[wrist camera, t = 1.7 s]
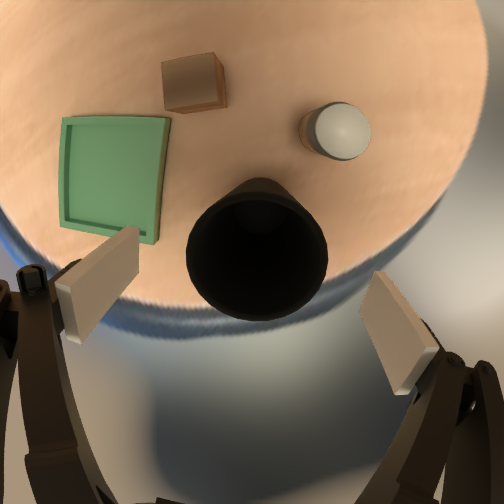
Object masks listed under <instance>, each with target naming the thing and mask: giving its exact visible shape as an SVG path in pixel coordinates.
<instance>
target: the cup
mask: <svg viewBox="0 0 504 504" xmlns="http://www.w3.org/2000/svg"><path fill="white" fill-rule="evenodd" d="M327 265H328V250H327V243H326V240H325V238H324V235H323V232H322V230H321V228H320V226H319V225H318V224H317V222H316V221H315V219H314V218H313V217H312V215H311V214H310V213H309V212H308V211H307V210H306V209H305V208H304V207H303V206H302V205H301V204H300V203H299V202H298V201H297V200H296V199H295V198H294V197H293V196H291V195H290V194H289V193H288V192H287V191H286V190H285V189H284V188H283V187H282V186H281V185H279V184H278V183H277V182H275V181H273V180H271V179H266V178H254V179H251V180H248V181H246V182H244V183H243V184H241V185H240V186H238V187H237V188H235V189H234V190H233V191H231V192H230V193H228V194H227V195H226V196H224V197H223V198H222V199H220V200H219V201H217V202H216V203H215V204H213V205H212V206H211V207H209V208H208V209H207V210H206V211H205V212H204V213H203V214H202V216H201V217H200V218H199V219H198V220H197V221H196V223H195V225H194V227H193V229H192V231H191V233H190V234H189V238H188V243H187V247H186V266H187V269H188V272H189V276H190V279H191V281H192V283H193V285H194V286H195V288H196V290H197V291H198V293H199V294H200V295H201V296H202V297H203V298H204V299H205V300H206V301H207V302H208V303H209V304H210V305H211V306H213V307H214V308H216V309H217V310H219V311H220V312H222V313H224V314H226V315H229V316H231V317H234V318H237V319H242V320H248V321H270V320H274V319H278V318H282V317H285V316H287V315H289V314H291V313H293V312H296V311H297V310H299V309H300V308H301V307H303V306H304V305H305V304H307V303H308V302H309V301H310V300H311V299H312V297H313V296H314V295H315V294H316V293H317V291H318V290H319V288H320V286H321V284H322V282H323V280H324V278H325V276H326V270H327Z"/></svg>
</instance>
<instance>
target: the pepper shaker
mask: <svg viewBox="0 0 504 504" xmlns="http://www.w3.org/2000/svg"><path fill="white" fill-rule="evenodd" d="M299 135H300V139H301V141H302V143H303V144H304V145H305V147H306V148H308V149H309V150H311V151H312V152H315V153H318V154H320V155H323V156H326V157H329V158H331V159H334V160H339V161H347V160H351V159H354V158H356V157H357V156H359V155H360V154H361V153H363V152H364V151H365V149H366V148H367V146H368V145H369V142H370V138H371V128H370V124H369V122H368V120H367V118H366V116H365V115H364V114H363V113H362V112H361V111H360V110H359V109H357V108H356V107H354V106H352V105H350V104H348V103H344V102H333V103H329V104H327V105H325V106H323V107H321V108H319V109H317V110H315V111H313V112H311V113H309V114H307V115H306V116H305V117H304V118H303V120H302V121H301V124H300V127H299Z"/></svg>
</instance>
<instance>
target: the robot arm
mask: <svg viewBox="0 0 504 504" xmlns="http://www.w3.org/2000/svg"><path fill="white" fill-rule="evenodd" d="M139 229H140V228H139V227H133V226H126V227H125V228H123V229H122V230H120V231H119V232H118V233H116V234H115V235H114V236H112V237H111V238H110V239H108V240H107V241H105V242H104V243H103V244H101V245H100V246H99V247H98V248H96V249H95V250H94V251H92V252H91V253H90V254H88V255H87V256H86V257H85V258H83V259H78V260H76V261H73V262H71V263H70V264H68V265H67V266H66V267H65V269H64V268H63V269H62V270H61V271H60V273H59V272H58V273H57V274H56V275H55V276H53V277H52V278H51V279H50V280H49V281H47V275H46V270H45V267H43V266H42V265H38V264H31V265H27V266H24V267H22V268H21V269H19V270H18V271H17V274H16V277H17V281H18V286H19V290H20V292H12V291H10V288H9V285H8V282H7V281H5V280H0V504H3V496H4V445H5V431H6V421H7V413H8V406H9V399H10V393H11V388H12V382H13V377H14V373H15V368H16V364H17V360H18V372H19V387H20V396H21V406H22V413H23V419H24V426H25V431H26V436H27V441H28V446H29V454H27V455H25V466H26V471H27V474H28V478H29V481H30V485H31V488H32V491H33V494H34V497H35V500H36V503H37V504H118V502H117V500H116V499H115V497H114V495H113V493H112V492H111V490H110V488H109V487H108V485H107V484H106V482H105V480H104V478H103V476H102V473H101V471H100V469H99V467H98V464H97V462H96V460H95V457H94V455H93V452H92V450H91V447H90V445H89V442H88V439H87V437H86V434H85V431H84V428H83V425H82V422H81V419H80V416H79V413H78V410H77V406H76V403H75V399H74V396H73V392H72V388H71V384H70V380H69V376H68V372H67V367H66V363H65V358H64V353H63V347H62V341H61V338H60V333H61V331H62V330H63V329H65V332H66V336H67V339H68V340H71V341H73V342H76V343H78V344H81V345H82V343H83V342H84V341H85V339H86V338H87V337H88V335H89V334H90V333H91V331H92V330H93V329H94V327H95V326H96V325H97V324H98V322H99V321H100V320H101V318H102V317H103V316H104V315H105V313H106V312H107V311H108V310H109V308H110V307H111V306H112V304H113V303H114V302H115V301H116V300H117V298H118V297H119V296H120V295H121V293H122V292H123V291H124V290H125V288H126V287H127V286H128V285H129V284H130V282H131V281H132V280H133V279H134V278H135V277H136V275H137V274H138V273H139ZM359 313H360V315H361V317H362V320H363V322H364V324H365V326H366V328H367V330H368V333H369V335H370V337H371V339H372V342H373V344H374V346H375V348H376V351H377V353H378V355H379V358H380V360H381V362H382V365H383V367H384V369H385V372H386V374H387V377H388V379H389V382H390V384H391V387H392V389H393V392H394V394H395V395H401V394H402V395H403V394H409V392H410V391H411V390H412V388H413V387H414V385H416V387H417V389H418V391H417V393H416V394H415V395H414V397H413V398H412V399H411V401H410V402H409V403H408V404H407V406H406V408H408V407H409V408H408V411H407V413H406V415H405V417H404V420H403V422H402V424H401V426H400V428H399V430H398V432H397V434H396V436H395V438H394V440H393V442H392V443H391V445H390V448H389V449H388V451H387V453H386V454H385V456H384V458H383V460H382V461H381V463H380V465H379V467H378V468H377V470H376V472H375V473H374V475H373V476H372V478H371V480H370V481H369V483H368V484H367V486H366V487H365V489H364V490H363V492H362V493H361V495H360V496H359V498H358V499H357V500H356V502H355V503H354V504H439V501H438V500H435V499H434V498H433V496H434V493H435V490H436V488H437V485H438V483H439V480H440V477H441V474H442V472H443V469H444V466H445V476H444V484H443V492H442V499H441V504H504V400H503V395H502V391H501V388H500V384H499V380H498V377H497V373H496V371H495V369H494V367H493V366H492V365H491V364H490V363H489V362H486V361H483V360H480V361H478V362H477V364H476V365H475V367H474V368H470V367H466V366H465V362H464V361H463V360H462V358H461V357H460V356H458V355H457V354H455V353H453V352H446V351H445V350H444V348H443V347H442V345H441V344H440V342H439V341H438V339H437V338H436V337H435V335H434V333H433V332H431V329H430V328H429V326H428V325H427V324H426V323H425V322H424V321H423V320H422V319H421V318H419V316H418V315H417V314H416V312H415V311H414V309H413V308H412V307H411V305H410V304H409V302H408V301H407V300H406V298H405V297H404V296H403V294H402V293H401V292H400V290H399V289H398V288H397V287H396V285H395V284H394V283H393V281H392V280H391V279H390V277H389V276H388V275H387V274H386V273H385V272H380V271H374V273H373V276H372V279H371V281H370V284H369V287H368V289H367V292H366V294H365V297H364V299H363V302H362V304H361V307H360V309H359ZM474 404H475V406H474V409H473V410H472V407H473V405H474ZM445 463H446V464H445ZM136 504H183V503H179V502H174V501H170V500H166V499H162V498H158V497H157V499H156V503H136Z"/></svg>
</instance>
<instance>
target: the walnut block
mask: <svg viewBox="0 0 504 504" xmlns="http://www.w3.org/2000/svg"><path fill="white" fill-rule="evenodd" d="M161 63H162V79H163V92H164V104H165V110H167V111H172V112H177V113H181V114H186V113H192V112H199V111H205V110H212V109H220V108H227V102H226V91H225V80H224V69H223V66H222V64H221V63H220V61H219V60H218V58H217V57H216V55H215V54H214V52H211V53H205V54H199V55H194V56H189V57H184V58H179V59H174V60H170V61H166V62H161Z"/></svg>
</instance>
